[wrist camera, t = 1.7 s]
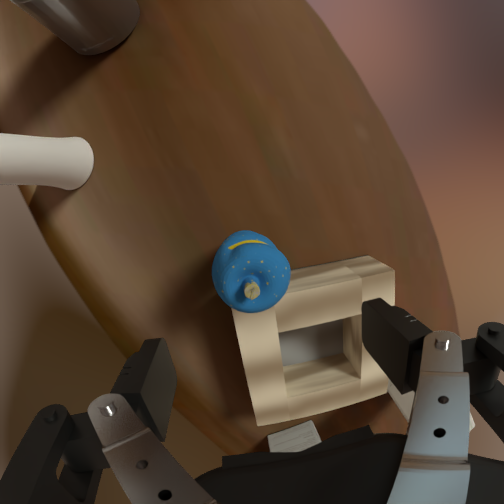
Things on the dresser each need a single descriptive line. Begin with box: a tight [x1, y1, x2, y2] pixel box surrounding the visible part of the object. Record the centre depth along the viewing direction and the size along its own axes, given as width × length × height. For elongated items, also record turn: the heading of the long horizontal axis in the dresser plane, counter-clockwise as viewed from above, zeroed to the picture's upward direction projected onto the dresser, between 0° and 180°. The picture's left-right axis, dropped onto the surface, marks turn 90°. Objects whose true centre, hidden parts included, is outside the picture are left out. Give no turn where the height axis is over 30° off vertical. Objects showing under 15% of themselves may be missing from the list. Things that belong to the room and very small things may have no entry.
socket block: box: [232, 255, 395, 426], centre depth 31 cm, size 16×16×6 cm
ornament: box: [212, 230, 291, 313], centre depth 24 cm, size 5×5×15 cm
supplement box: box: [267, 420, 322, 452], centre depth 33 cm, size 7×7×13 cm
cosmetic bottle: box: [0, 133, 94, 190], centre depth 17 cm, size 6×6×22 cm
